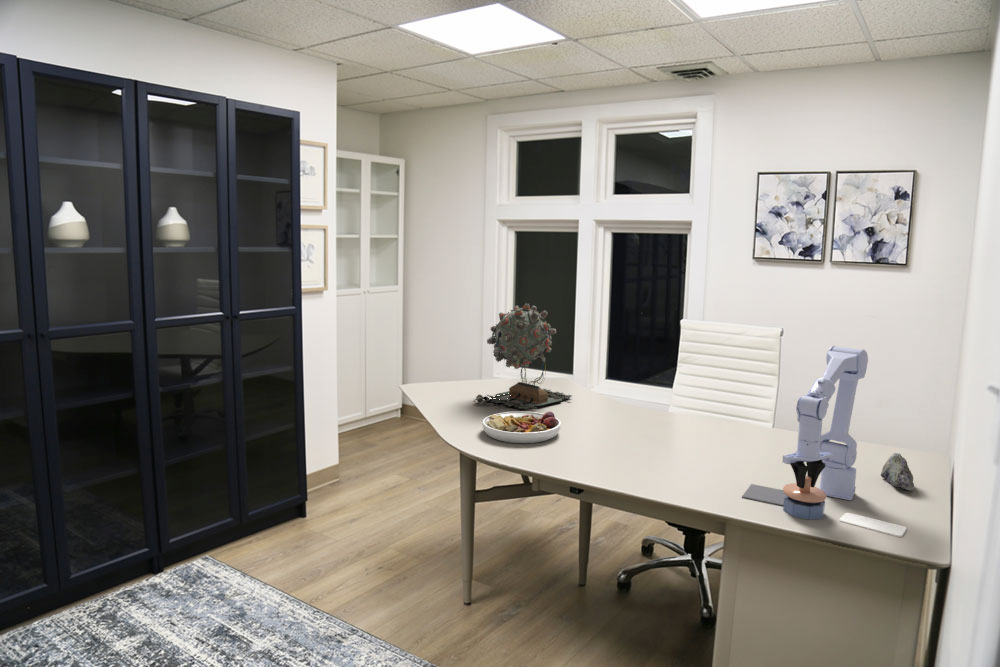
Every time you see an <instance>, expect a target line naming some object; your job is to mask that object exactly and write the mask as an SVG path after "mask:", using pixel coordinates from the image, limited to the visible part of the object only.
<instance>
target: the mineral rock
mask: <svg viewBox="0 0 1000 667" xmlns="http://www.w3.org/2000/svg"><path fill="white" fill-rule="evenodd" d="M880 476H881V478H883V479H884V480H886V482H888V483H890V484H891V485H893V486H894V487H898V488H901V489H903V490H907V491H912V490H914V488H915V484H914V476H913V474H912V471H911V469H910V468H909V465H908V461H907V459H906V458H904V456H902V454H901V453H897V452H894V453H892V454H891V455H890V456H889V457H888V458H887V460H886V462H885V463H884V465H883V467H882V469H881V472H880Z"/></svg>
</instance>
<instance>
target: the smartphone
mask: <svg viewBox="0 0 1000 667" xmlns="http://www.w3.org/2000/svg"><path fill="white" fill-rule="evenodd" d="M838 520H839V522H840V523H845V524H848V525H852V526H855V527H859V528H863V529H868V530H870V531H874V532H878V533H882V534H886V535H888V536H889V535H890V536H893V537H896V538H902V537H903V535H904V534H905V533H906V532H907V529H908V528H907V526H904V525H899V524H897V523H896V524H895V523H892V522H888V521H884V520H879V519H876V518H872V517H868V516H863V515H860V514H856V513H852V512H845V513H843V515H842V516H841V517H840V518H839V519H838Z"/></svg>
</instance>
